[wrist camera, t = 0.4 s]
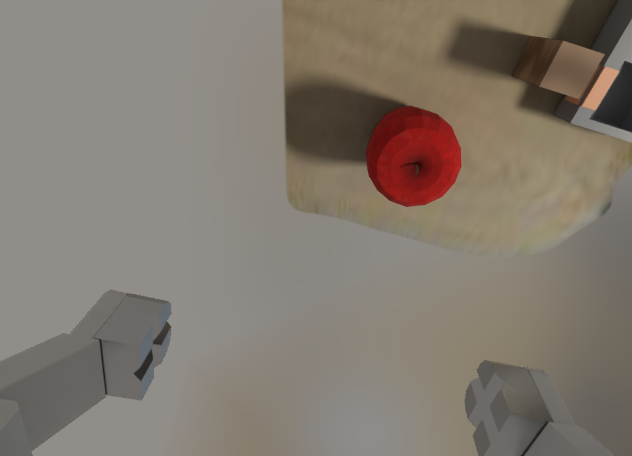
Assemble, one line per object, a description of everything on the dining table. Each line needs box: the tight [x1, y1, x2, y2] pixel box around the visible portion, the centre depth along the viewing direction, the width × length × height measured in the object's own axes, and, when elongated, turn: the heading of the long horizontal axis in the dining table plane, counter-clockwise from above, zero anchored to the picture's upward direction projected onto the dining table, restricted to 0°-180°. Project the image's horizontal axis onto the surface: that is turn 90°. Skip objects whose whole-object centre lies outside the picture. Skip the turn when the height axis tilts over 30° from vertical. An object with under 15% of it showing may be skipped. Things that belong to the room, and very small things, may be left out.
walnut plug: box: [512, 36, 605, 99], centre depth 45 cm, size 4×4×8 cm
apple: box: [366, 106, 461, 207], centre depth 48 cm, size 11×10×14 cm
